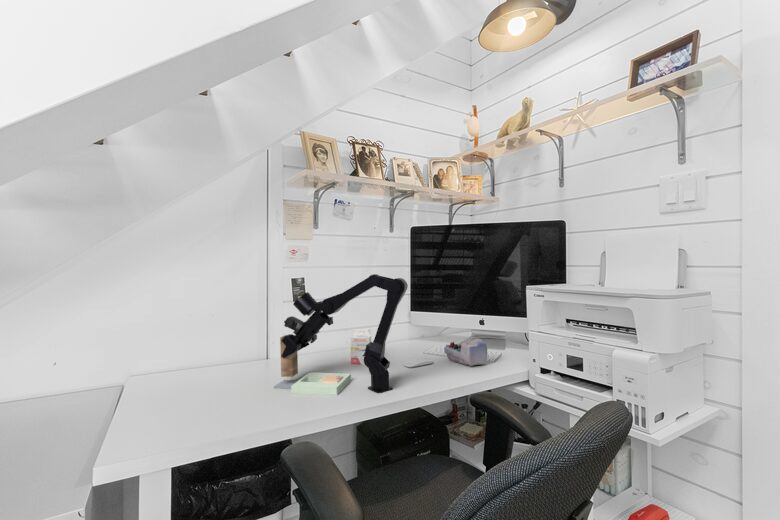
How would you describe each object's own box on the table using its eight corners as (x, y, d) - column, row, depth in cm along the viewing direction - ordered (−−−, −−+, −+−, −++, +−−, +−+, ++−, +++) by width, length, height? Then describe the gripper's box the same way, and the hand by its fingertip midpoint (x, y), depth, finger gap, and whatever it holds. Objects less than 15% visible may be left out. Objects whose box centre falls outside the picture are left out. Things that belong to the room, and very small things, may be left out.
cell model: (468, 342, 152) (440, 336, 170) (470, 369, 152) (441, 360, 169) (493, 338, 158) (463, 332, 176) (494, 364, 157) (464, 356, 175)
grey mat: (304, 382, 140) (304, 380, 140) (294, 389, 132) (294, 387, 132) (284, 381, 141) (284, 379, 141) (273, 388, 134) (273, 386, 134)
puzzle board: (350, 380, 141) (350, 370, 141) (336, 395, 125) (336, 383, 125) (310, 378, 144) (309, 368, 144) (291, 393, 128) (291, 381, 128)
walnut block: (297, 373, 138) (296, 335, 139) (292, 376, 134) (291, 337, 134) (286, 372, 139) (285, 335, 139) (281, 376, 135) (280, 337, 135)
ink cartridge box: (350, 364, 164) (350, 330, 164) (352, 361, 169) (352, 328, 169) (370, 364, 163) (369, 330, 163) (371, 361, 168) (371, 328, 168)
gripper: (308, 306, 145) (282, 334, 147) (286, 312, 127) (257, 344, 129) (328, 326, 144) (302, 355, 146) (308, 336, 125) (278, 368, 127)
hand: (285, 355), depth 137 cm, fingers closed on walnut block, 4 cm apart
